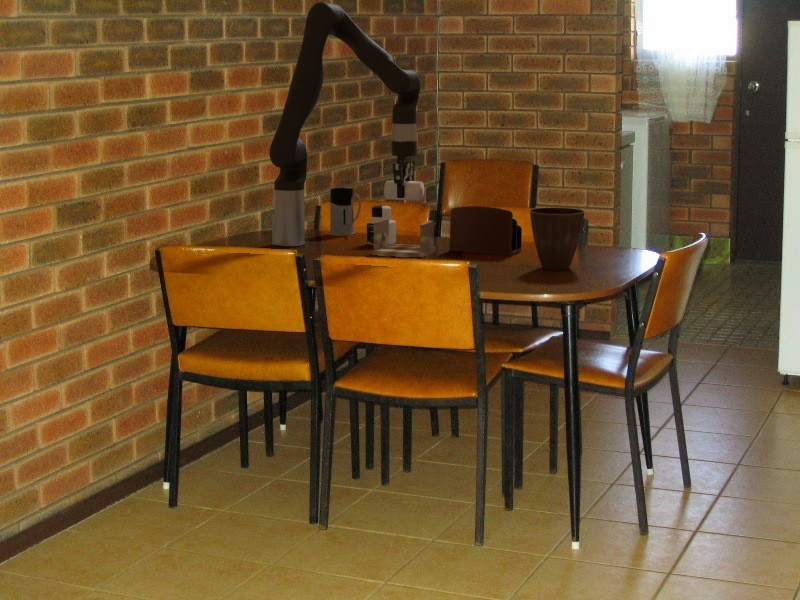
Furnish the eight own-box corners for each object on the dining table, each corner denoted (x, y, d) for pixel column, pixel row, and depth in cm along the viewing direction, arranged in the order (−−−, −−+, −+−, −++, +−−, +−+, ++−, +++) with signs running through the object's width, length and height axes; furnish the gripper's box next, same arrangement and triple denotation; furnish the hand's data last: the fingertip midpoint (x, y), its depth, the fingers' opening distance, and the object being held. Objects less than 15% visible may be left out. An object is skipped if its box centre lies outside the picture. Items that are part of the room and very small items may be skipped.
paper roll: (384, 200, 356) (383, 181, 355) (390, 197, 361) (389, 179, 360) (419, 201, 353) (418, 183, 351) (424, 198, 358) (424, 180, 357)
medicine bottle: (366, 244, 378) (366, 206, 376) (375, 241, 384) (375, 204, 382) (387, 246, 375) (387, 207, 373) (396, 243, 382) (396, 205, 379)
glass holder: (344, 231, 408) (344, 187, 405) (370, 236, 397) (370, 190, 394) (323, 233, 402) (323, 188, 400) (349, 238, 392) (349, 192, 389)
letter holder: (511, 256, 357) (512, 208, 355) (448, 251, 366) (449, 205, 363) (521, 251, 366) (523, 205, 364) (461, 247, 374) (461, 201, 372)
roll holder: (371, 255, 356) (371, 223, 354) (386, 248, 369) (387, 217, 367) (421, 258, 351) (421, 225, 349) (435, 251, 364) (435, 220, 362)
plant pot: (581, 273, 326) (583, 214, 323) (526, 271, 328) (527, 213, 326) (583, 264, 340) (585, 208, 337) (530, 263, 343) (531, 207, 340)
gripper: (399, 137, 361) (399, 194, 365) (384, 140, 348) (384, 199, 351) (423, 138, 359) (423, 195, 362) (408, 140, 346) (408, 199, 349)
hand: (404, 196), depth 357 cm, fingers closed on paper roll, 5 cm apart
